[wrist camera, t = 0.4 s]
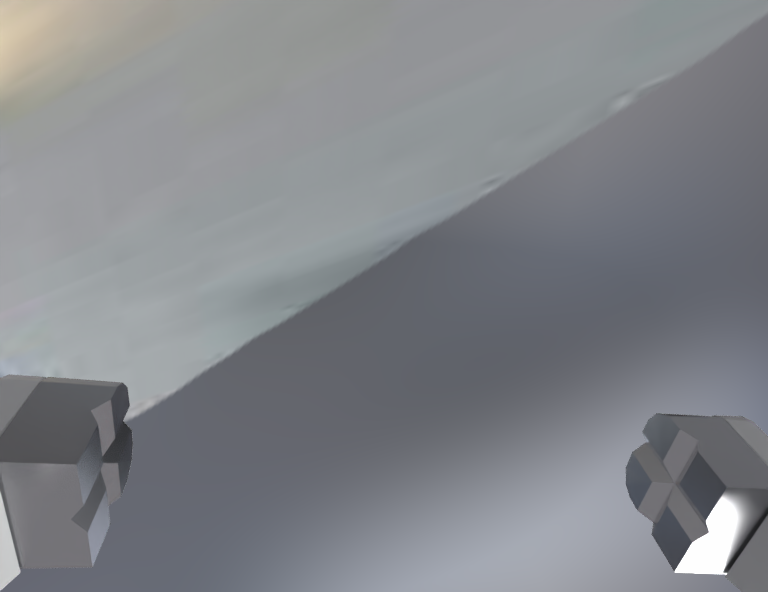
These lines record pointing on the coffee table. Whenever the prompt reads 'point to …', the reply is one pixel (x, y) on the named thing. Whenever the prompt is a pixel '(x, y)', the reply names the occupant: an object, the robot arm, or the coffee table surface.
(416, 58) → the coffee table surface
